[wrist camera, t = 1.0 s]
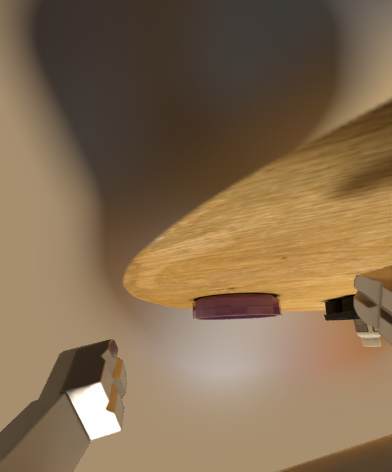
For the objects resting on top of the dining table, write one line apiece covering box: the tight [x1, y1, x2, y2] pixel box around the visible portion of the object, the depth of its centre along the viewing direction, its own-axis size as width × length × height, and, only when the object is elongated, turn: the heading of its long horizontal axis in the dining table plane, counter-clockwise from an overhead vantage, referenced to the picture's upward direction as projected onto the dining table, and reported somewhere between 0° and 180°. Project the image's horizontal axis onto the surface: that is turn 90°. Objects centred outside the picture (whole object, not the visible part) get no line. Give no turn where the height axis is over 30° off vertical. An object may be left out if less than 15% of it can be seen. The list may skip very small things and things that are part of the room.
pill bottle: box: [353, 319, 382, 346], centre depth 64 cm, size 5×5×10 cm
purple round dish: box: [193, 294, 282, 320], centre depth 42 cm, size 14×14×3 cm
